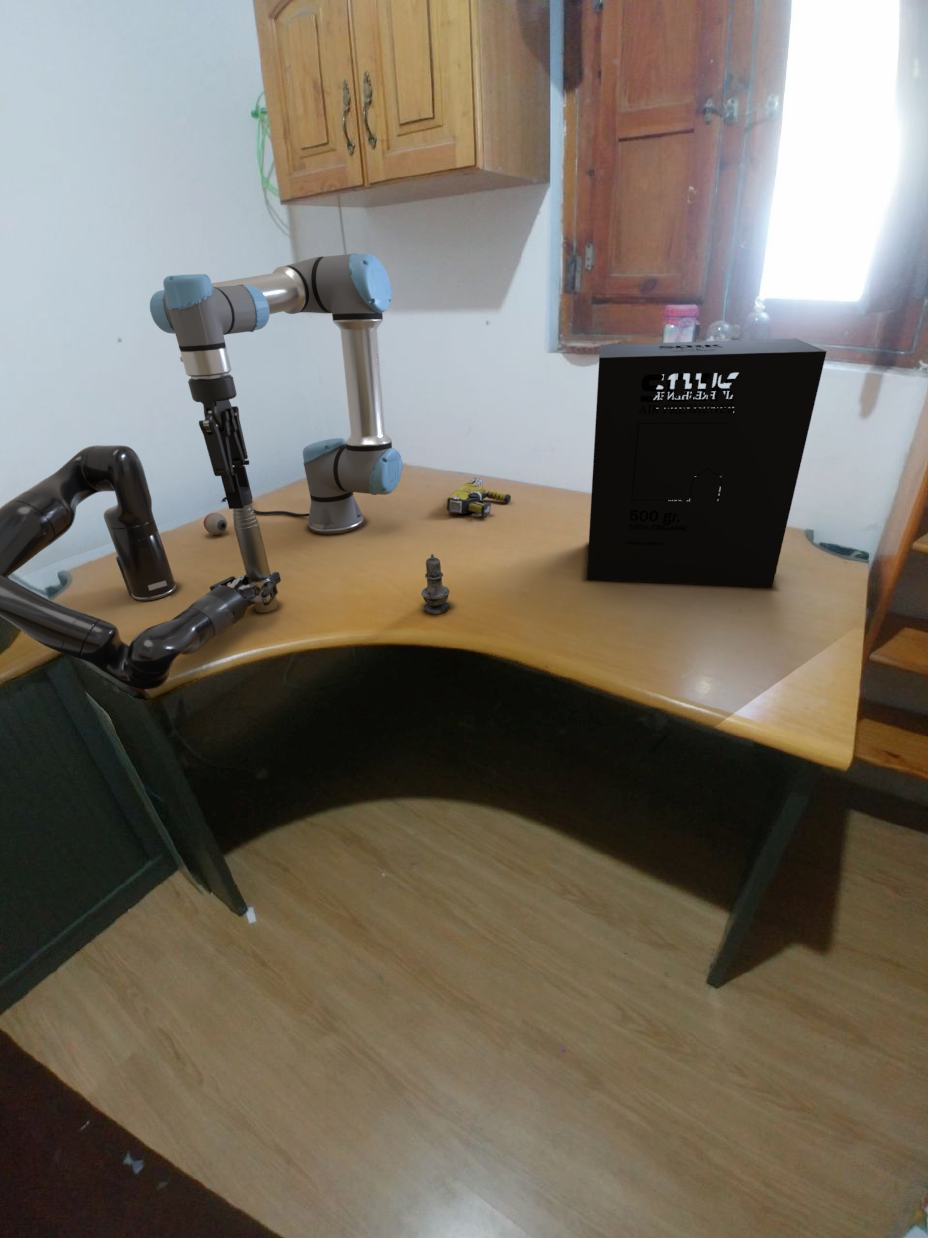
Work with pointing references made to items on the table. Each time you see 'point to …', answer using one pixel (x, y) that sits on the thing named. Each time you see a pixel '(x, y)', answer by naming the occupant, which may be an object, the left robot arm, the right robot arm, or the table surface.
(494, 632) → the table surface
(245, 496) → the cap
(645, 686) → the table surface
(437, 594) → the grey metal turned piece
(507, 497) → the toy gun
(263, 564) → the bottle
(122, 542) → the left robot arm
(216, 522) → the eyeball
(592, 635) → the table surface
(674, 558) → the cardboard box
